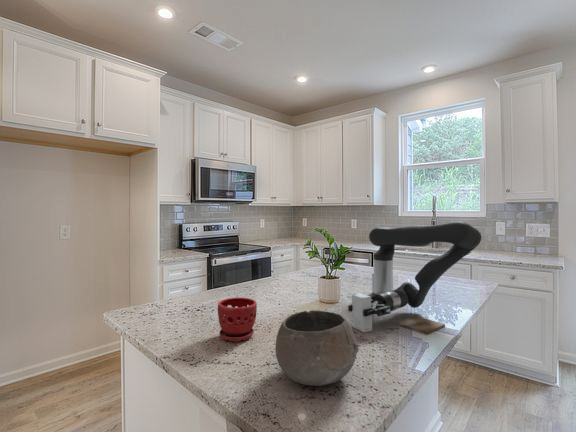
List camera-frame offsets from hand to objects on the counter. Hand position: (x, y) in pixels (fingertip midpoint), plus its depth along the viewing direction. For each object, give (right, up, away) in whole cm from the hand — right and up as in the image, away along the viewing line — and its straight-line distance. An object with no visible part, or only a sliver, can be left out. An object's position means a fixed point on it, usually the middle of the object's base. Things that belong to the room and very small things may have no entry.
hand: (356, 311), depth 111 cm
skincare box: (+2, -7, +2) cm, 8 cm away
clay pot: (-17, -8, -30) cm, 35 cm away
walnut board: (+24, -7, +4) cm, 25 cm away
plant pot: (-41, -8, -3) cm, 42 cm away
